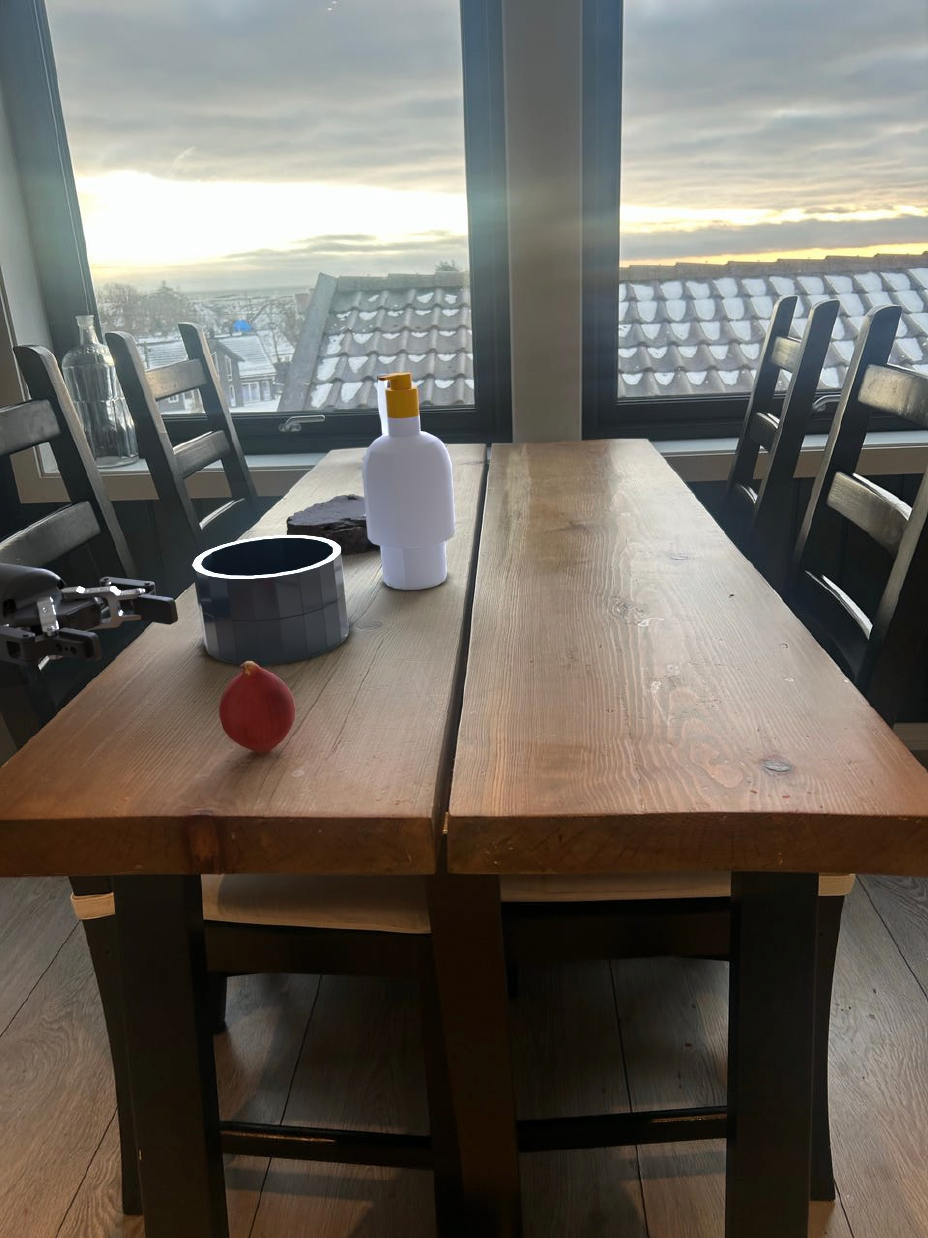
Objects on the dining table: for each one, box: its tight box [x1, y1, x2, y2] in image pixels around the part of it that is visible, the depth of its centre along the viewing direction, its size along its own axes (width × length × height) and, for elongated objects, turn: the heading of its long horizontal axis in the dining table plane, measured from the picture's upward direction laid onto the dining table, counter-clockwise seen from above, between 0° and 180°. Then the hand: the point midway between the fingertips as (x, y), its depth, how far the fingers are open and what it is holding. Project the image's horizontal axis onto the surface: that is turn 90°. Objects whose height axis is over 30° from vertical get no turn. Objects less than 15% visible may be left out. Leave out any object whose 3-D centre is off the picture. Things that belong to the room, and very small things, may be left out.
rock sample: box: [285, 493, 381, 556], centre depth 136 cm, size 18×16×5 cm
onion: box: [218, 661, 296, 756], centre depth 78 cm, size 6×6×8 cm
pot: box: [191, 535, 350, 667], centre depth 102 cm, size 15×15×9 cm
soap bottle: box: [361, 372, 457, 591], centre depth 114 cm, size 10×10×24 cm
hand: (137, 629), depth 82 cm, fingers open, 8 cm apart
